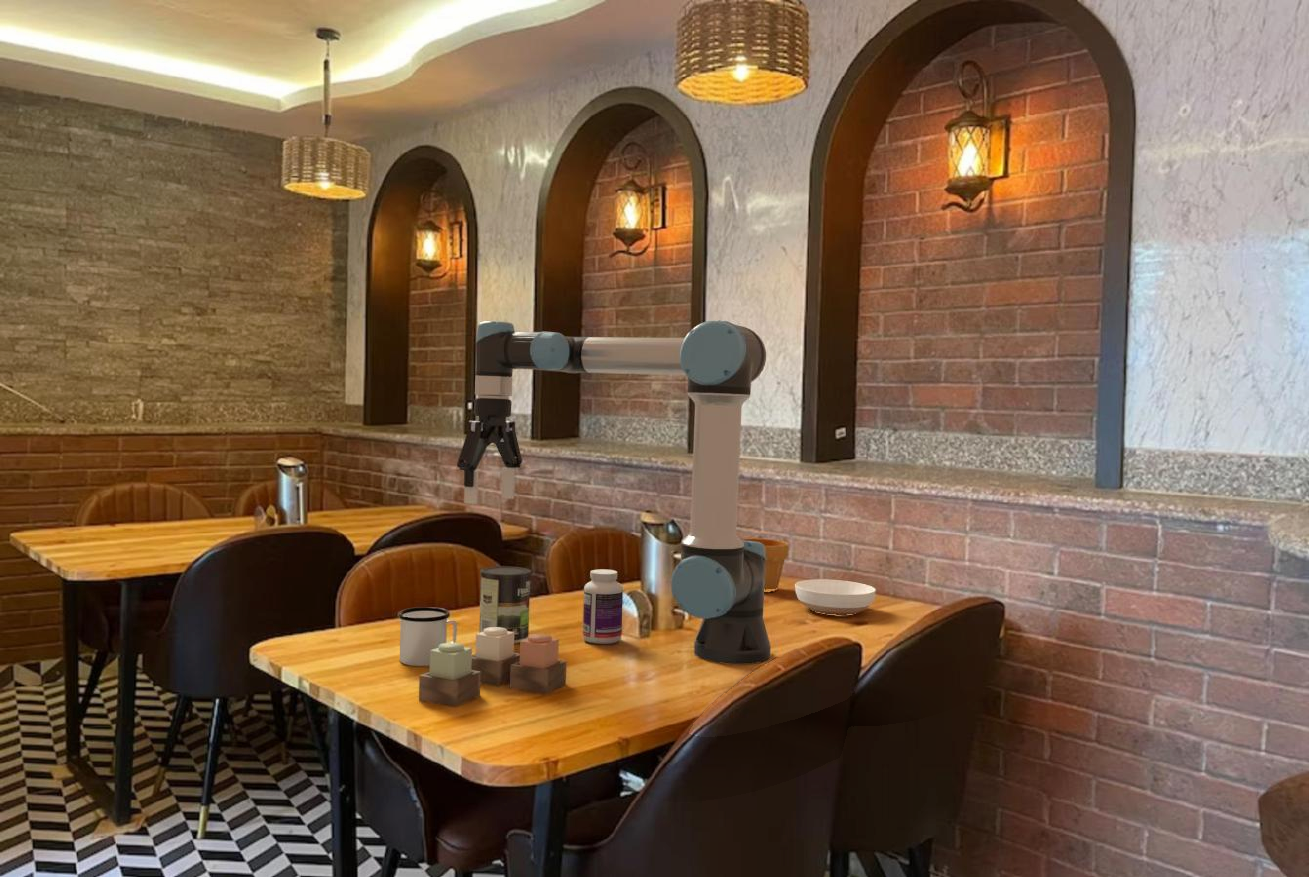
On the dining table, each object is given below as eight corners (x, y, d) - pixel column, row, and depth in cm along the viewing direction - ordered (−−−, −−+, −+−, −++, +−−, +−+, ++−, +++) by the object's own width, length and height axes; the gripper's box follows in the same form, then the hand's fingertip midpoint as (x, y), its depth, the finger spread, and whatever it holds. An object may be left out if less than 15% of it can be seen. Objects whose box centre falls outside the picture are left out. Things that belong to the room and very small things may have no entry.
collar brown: (565, 683, 169) (566, 661, 168) (545, 694, 162) (546, 670, 162) (531, 677, 171) (531, 655, 171) (509, 688, 165) (510, 664, 165)
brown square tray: (479, 695, 160) (480, 671, 160) (454, 706, 154) (455, 682, 154) (444, 688, 163) (445, 665, 163) (418, 699, 157) (419, 675, 156)
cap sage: (470, 684, 160) (472, 644, 159) (453, 691, 155) (454, 650, 155) (446, 679, 162) (447, 640, 161) (429, 687, 157) (430, 646, 157)
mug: (415, 670, 173) (416, 620, 173) (386, 659, 180) (387, 611, 179) (470, 659, 182) (471, 611, 182) (440, 649, 188) (442, 603, 188)
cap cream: (513, 665, 171) (514, 628, 171) (498, 672, 167) (499, 634, 167) (490, 661, 173) (491, 625, 173) (474, 668, 169) (476, 630, 169)
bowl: (885, 610, 241) (887, 586, 241) (857, 624, 224) (859, 598, 224) (812, 599, 251) (813, 576, 251) (780, 612, 235) (782, 586, 235)
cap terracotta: (557, 673, 168) (558, 635, 168) (543, 680, 163) (544, 641, 163) (533, 669, 170) (534, 631, 170) (519, 675, 165) (520, 637, 165)
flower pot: (731, 592, 256) (733, 543, 256) (736, 583, 270) (738, 536, 270) (785, 596, 254) (787, 547, 254) (787, 586, 268) (789, 540, 268)
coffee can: (535, 634, 203) (537, 567, 202) (519, 646, 193) (521, 576, 192) (489, 630, 205) (491, 564, 204) (470, 642, 195) (472, 572, 194)
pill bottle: (628, 639, 202) (630, 570, 201) (610, 647, 194) (612, 576, 194) (593, 634, 205) (596, 566, 205) (575, 642, 198) (577, 572, 197)
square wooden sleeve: (521, 676, 172) (522, 654, 172) (499, 686, 166) (500, 663, 166) (488, 670, 175) (488, 648, 175) (465, 680, 169) (466, 657, 168)
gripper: (510, 398, 211) (507, 495, 212) (441, 395, 188) (437, 504, 189) (540, 399, 208) (536, 497, 209) (473, 396, 185) (470, 507, 186)
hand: (489, 501), depth 199 cm, fingers open, 13 cm apart
